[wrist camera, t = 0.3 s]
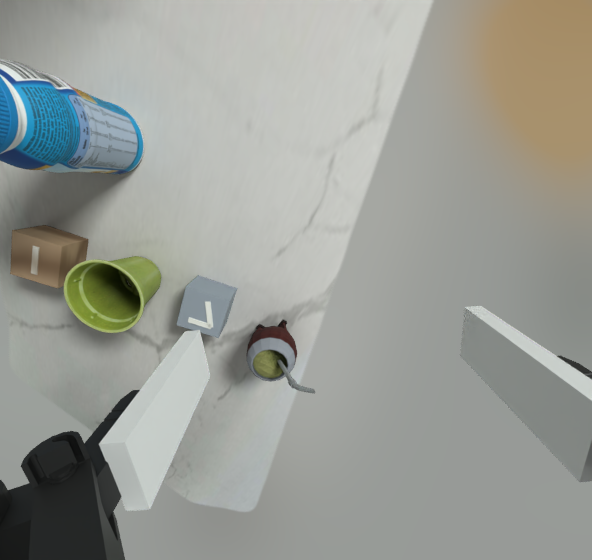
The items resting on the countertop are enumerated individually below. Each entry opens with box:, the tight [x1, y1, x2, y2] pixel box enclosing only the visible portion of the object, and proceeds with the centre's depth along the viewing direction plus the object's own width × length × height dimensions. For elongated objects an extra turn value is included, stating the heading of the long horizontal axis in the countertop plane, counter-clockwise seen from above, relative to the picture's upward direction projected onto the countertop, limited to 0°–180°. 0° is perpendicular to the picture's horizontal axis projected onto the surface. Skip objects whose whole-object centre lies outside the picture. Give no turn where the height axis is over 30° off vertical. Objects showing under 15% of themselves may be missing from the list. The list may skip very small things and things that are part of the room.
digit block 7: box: [176, 275, 237, 338], centre depth 41 cm, size 6×6×5 cm
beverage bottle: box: [0, 59, 144, 174], centre depth 27 cm, size 8×8×20 cm
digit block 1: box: [10, 225, 88, 288], centre depth 39 cm, size 6×6×5 cm
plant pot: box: [64, 256, 161, 333], centre depth 39 cm, size 9×9×9 cm
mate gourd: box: [247, 320, 315, 393], centre depth 38 cm, size 8×8×15 cm
